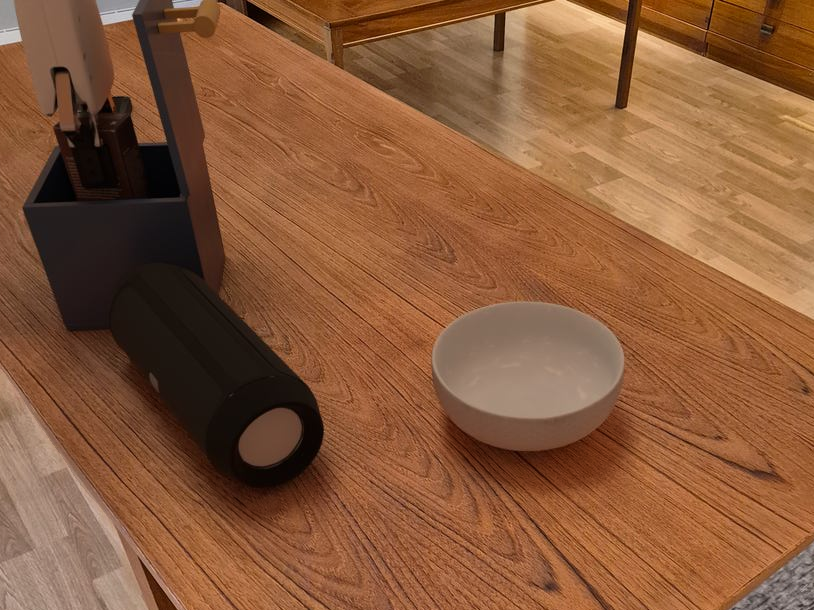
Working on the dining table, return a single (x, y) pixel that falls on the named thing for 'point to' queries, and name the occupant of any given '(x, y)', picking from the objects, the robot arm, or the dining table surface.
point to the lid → (175, 77)
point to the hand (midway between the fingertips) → (105, 172)
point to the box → (124, 159)
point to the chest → (120, 234)
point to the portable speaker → (216, 376)
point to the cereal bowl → (527, 374)
